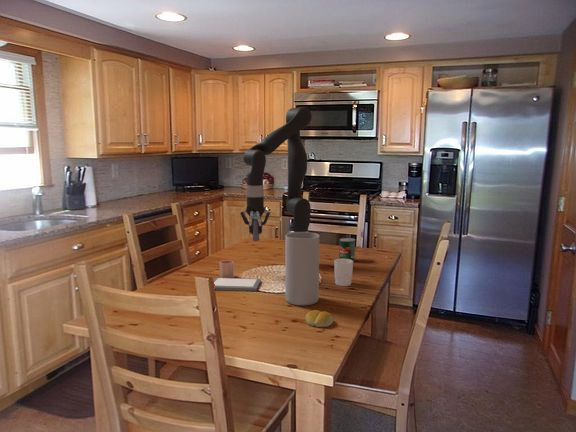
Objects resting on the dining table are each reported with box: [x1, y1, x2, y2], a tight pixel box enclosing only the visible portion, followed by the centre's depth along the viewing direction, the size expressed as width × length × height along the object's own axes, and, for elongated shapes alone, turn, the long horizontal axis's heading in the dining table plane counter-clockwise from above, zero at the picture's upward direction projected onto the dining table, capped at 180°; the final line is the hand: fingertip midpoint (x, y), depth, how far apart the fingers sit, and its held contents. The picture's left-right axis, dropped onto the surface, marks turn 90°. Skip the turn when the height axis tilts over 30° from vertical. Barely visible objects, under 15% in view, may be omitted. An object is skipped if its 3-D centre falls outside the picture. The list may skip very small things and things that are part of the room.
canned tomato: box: [338, 237, 356, 263], centre depth 221 cm, size 8×8×11 cm
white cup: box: [333, 258, 354, 287], centre depth 183 cm, size 8×8×10 cm
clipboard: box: [213, 277, 262, 292], centre depth 181 cm, size 20×13×1 cm, turn 84°
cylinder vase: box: [284, 231, 320, 307], centre depth 162 cm, size 12×12×25 cm
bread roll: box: [305, 309, 334, 328], centre depth 143 cm, size 8×9×4 cm
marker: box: [252, 212, 260, 242], centre depth 194 cm, size 3×3×13 cm
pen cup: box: [218, 259, 235, 278], centre depth 192 cm, size 6×6×7 cm
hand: (255, 233), depth 195 cm, fingers closed on marker, 3 cm apart
